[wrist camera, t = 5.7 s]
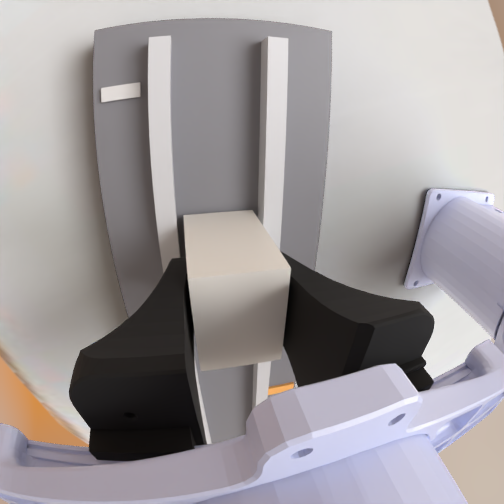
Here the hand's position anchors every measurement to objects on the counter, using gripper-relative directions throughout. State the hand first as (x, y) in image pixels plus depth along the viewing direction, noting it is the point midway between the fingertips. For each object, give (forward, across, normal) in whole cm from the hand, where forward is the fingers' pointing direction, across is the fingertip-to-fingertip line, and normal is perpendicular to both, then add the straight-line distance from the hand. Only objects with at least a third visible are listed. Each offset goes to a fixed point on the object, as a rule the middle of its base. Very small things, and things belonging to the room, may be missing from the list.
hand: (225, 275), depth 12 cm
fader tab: (+2, 0, 0) cm, 2 cm away
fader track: (+4, 0, +4) cm, 6 cm away
